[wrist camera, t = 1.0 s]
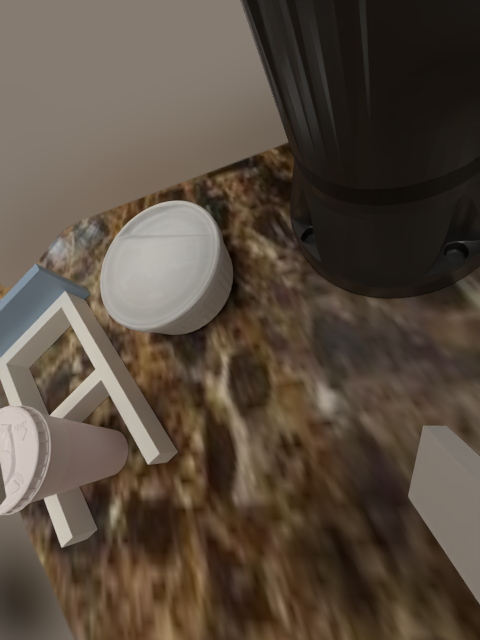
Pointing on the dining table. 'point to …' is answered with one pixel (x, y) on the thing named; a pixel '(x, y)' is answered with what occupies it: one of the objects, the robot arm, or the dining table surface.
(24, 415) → the smoothie
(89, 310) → the drawer frame
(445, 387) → the dining table surface
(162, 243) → the ramekin
